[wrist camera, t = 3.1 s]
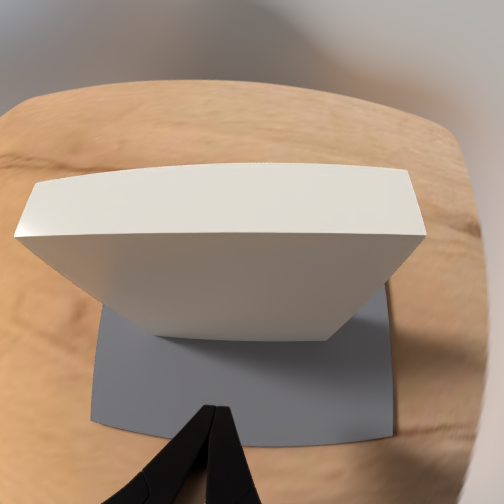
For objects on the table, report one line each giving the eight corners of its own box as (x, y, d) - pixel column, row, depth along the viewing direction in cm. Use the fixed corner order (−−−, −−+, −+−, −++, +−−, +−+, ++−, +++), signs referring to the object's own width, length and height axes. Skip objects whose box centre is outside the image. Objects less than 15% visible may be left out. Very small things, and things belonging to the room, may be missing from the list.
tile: (326, 340, 16) (426, 235, 6) (154, 335, 17) (13, 236, 6) (324, 308, 17) (405, 165, 6) (158, 304, 18) (38, 178, 7)
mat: (388, 434, 14) (392, 435, 13) (95, 420, 15) (90, 420, 14) (367, 203, 21) (369, 199, 20) (130, 205, 22) (127, 200, 21)
